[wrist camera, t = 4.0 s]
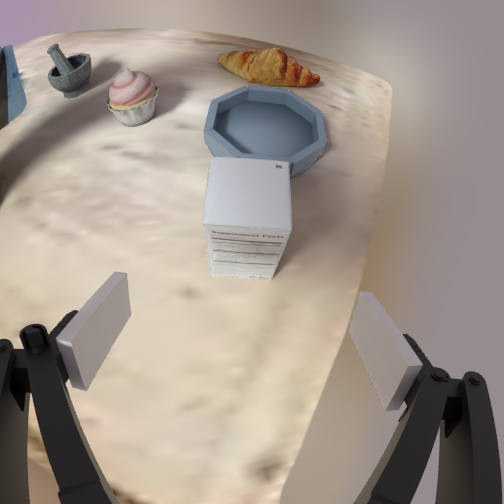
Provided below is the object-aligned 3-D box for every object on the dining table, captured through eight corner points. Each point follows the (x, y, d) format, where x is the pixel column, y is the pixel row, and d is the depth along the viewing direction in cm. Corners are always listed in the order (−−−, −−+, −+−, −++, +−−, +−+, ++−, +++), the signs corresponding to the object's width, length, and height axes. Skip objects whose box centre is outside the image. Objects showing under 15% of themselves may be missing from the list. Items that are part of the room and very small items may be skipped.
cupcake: (174, 111, 46) (168, 63, 37) (130, 141, 43) (115, 92, 34) (144, 93, 48) (135, 50, 39) (103, 119, 45) (88, 76, 36)
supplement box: (214, 222, 38) (210, 153, 26) (273, 226, 38) (292, 159, 27) (208, 277, 35) (199, 223, 23) (272, 282, 35) (294, 230, 23)
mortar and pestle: (105, 81, 50) (93, 35, 39) (72, 107, 46) (54, 60, 35) (78, 74, 52) (66, 34, 41) (48, 97, 48) (31, 57, 37)
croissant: (212, 84, 55) (203, 64, 47) (228, 48, 55) (221, 27, 47) (312, 107, 53) (316, 88, 46) (323, 69, 53) (328, 48, 45)
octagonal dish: (197, 174, 40) (195, 157, 37) (214, 98, 48) (214, 82, 45) (325, 186, 41) (332, 171, 38) (315, 108, 49) (320, 94, 46)
